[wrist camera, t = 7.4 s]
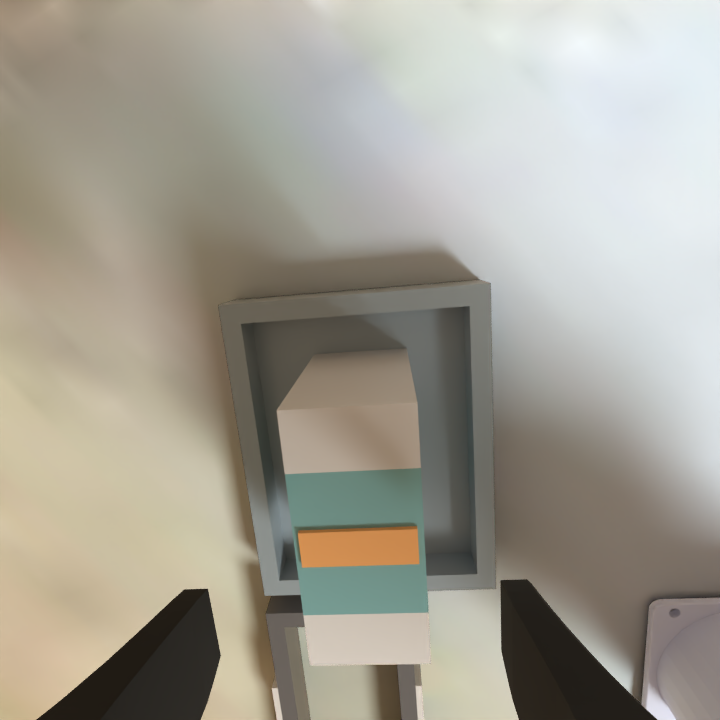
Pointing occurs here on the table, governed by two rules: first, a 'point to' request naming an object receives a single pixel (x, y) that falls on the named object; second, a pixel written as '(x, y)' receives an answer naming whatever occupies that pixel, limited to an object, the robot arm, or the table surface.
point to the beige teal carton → (357, 508)
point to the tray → (434, 398)
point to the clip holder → (289, 668)
